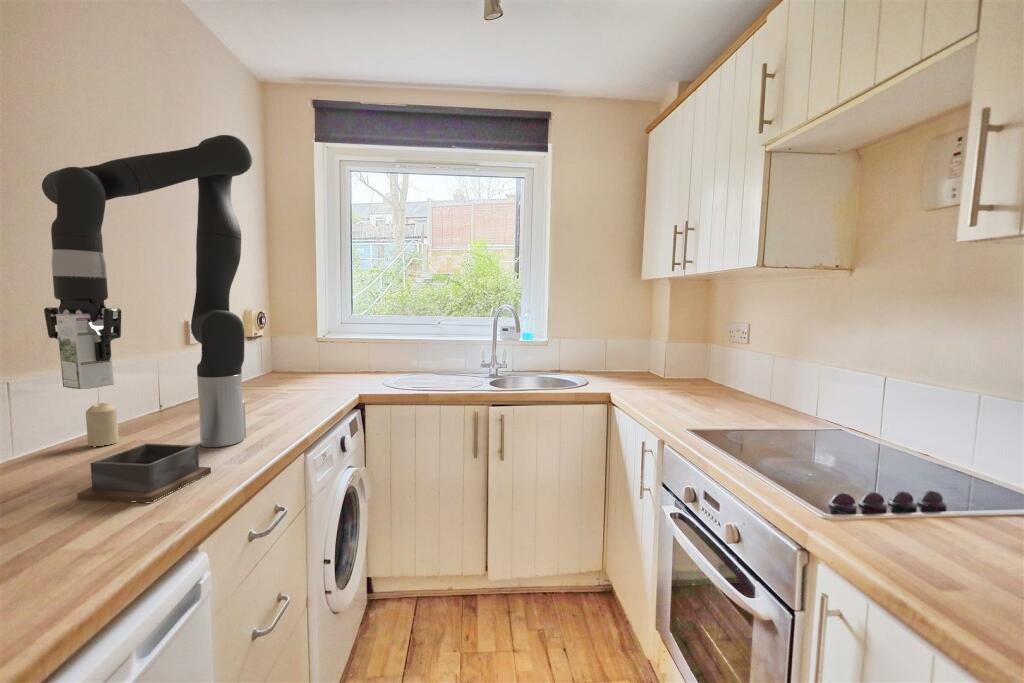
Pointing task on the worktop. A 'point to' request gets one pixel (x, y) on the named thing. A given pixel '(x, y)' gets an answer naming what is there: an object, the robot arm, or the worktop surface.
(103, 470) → the holder
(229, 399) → the robot arm
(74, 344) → the syrup box
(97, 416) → the candle
